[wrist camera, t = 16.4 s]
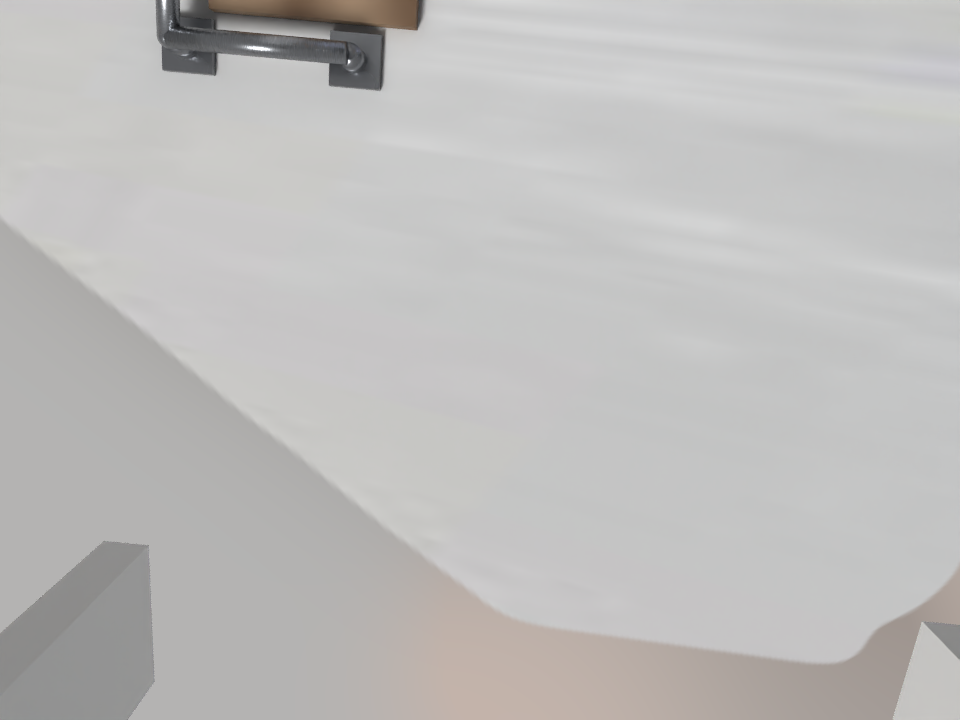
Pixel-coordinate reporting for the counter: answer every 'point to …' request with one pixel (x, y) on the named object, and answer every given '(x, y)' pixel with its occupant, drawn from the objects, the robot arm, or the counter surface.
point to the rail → (265, 48)
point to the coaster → (329, 11)
